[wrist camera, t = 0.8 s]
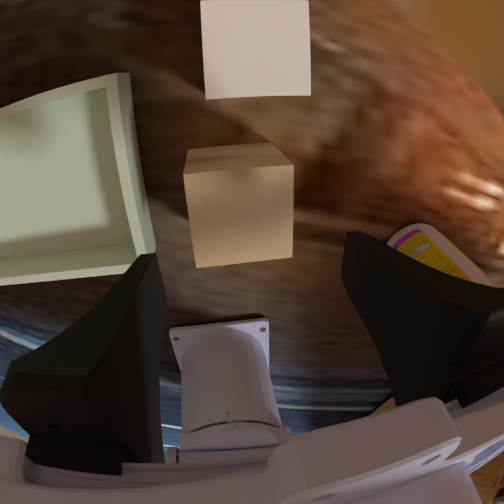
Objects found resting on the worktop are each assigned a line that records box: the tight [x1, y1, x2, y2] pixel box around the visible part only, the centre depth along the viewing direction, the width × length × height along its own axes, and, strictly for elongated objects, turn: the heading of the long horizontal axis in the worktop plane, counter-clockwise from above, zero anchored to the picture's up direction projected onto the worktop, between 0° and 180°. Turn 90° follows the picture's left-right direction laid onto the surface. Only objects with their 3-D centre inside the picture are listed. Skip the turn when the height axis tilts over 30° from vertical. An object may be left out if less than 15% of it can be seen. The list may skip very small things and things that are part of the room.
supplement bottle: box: [386, 223, 499, 288], centre depth 19 cm, size 7×7×13 cm
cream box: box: [200, 0, 311, 100], centre depth 13 cm, size 4×4×5 cm
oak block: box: [183, 142, 294, 268], centre depth 17 cm, size 5×5×5 cm
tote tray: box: [0, 73, 156, 286], centre depth 16 cm, size 11×17×3 cm, turn 92°
